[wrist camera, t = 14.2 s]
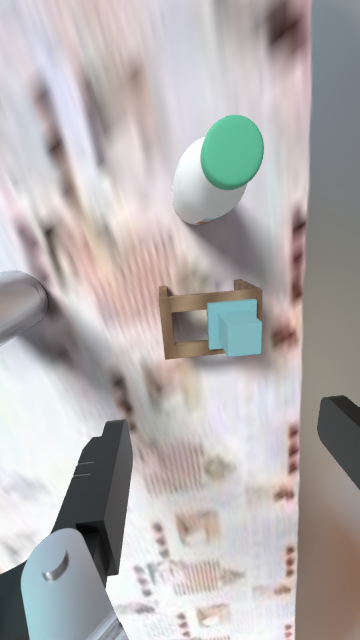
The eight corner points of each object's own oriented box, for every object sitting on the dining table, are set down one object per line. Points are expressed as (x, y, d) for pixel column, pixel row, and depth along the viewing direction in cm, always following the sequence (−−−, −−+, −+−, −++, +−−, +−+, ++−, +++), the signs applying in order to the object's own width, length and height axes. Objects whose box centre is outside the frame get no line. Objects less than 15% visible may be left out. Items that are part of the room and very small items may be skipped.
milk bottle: (174, 227, 37) (187, 215, 18) (167, 171, 35) (175, 89, 16) (222, 222, 37) (285, 203, 19) (220, 165, 35) (288, 78, 16)
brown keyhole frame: (164, 335, 43) (165, 359, 34) (159, 286, 40) (158, 299, 31) (240, 328, 43) (259, 349, 35) (241, 279, 41) (262, 289, 32)
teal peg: (203, 336, 38) (217, 367, 29) (202, 296, 36) (216, 315, 27) (244, 332, 38) (270, 362, 29) (244, 292, 36) (273, 310, 27)
